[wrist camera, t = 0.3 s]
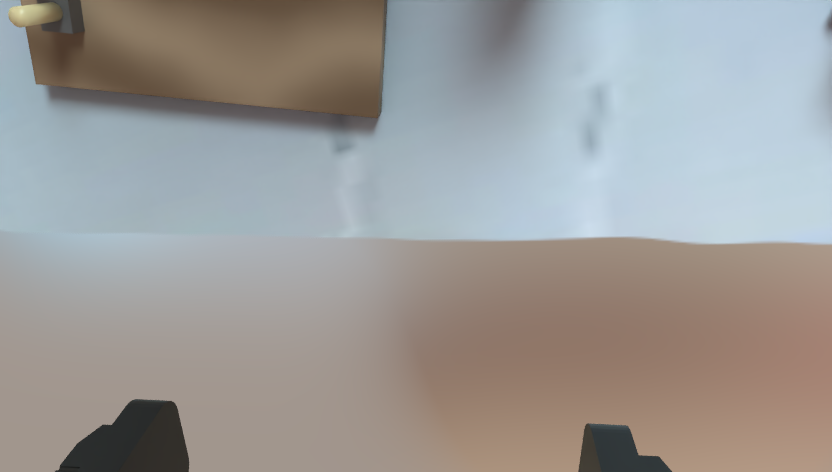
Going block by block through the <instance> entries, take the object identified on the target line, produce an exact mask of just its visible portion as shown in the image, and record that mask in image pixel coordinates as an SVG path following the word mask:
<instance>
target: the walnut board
mask: <svg viewBox="0 0 832 472" xmlns="http://www.w3.org/2000/svg"><path fill="white" fill-rule="evenodd" d="M80 1H81V8H82V14H83V21H84V28H85V31H84V32H79V33H74V34H70V33H60V32H49V31H42V28H41V24H37V25H31V26H26V32H27V38H28V43H29V49H30V54H31V59H32V65H33V70H34V76H35V81H36V84H41V85H51V86H61V87H71V88H81V89H91V90H101V91H111V92H121V93H131V94H141V95H151V96H161V97H171V98H181V99H191V100H202V101H212V102H222V103H232V104H242V105H252V106H262V107H272V108H282V109H292V110H302V111H312V112H322V113H332V114H342V115H352V116H362V117H372V118H378V117H379V115H380V113H381V104H382V86H383V68H384V50H385V32H386V14H387V0H80ZM32 4H37V0H21V5H22V6H24V5H32Z"/></svg>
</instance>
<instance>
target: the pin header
mask: <svg viewBox="0 0 832 472" xmlns="http://www.w3.org/2000/svg"><path fill="white" fill-rule="evenodd" d="M8 15H9V19H10V21H11V22H12V23H13V24H14V25H15V26H17V27H26V26H31V25H37V24H41V28H42V31H49V32H60V33H70V34H74V33H79V32H84V31H85V28H84V21H83V14H82V8H81V1H80V0H37V4H32V5H24V6H16V7H12V8H10V10H9V13H8Z"/></svg>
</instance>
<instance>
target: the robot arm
mask: <svg viewBox="0 0 832 472" xmlns="http://www.w3.org/2000/svg"><path fill="white" fill-rule="evenodd" d="M55 472H189V458H188V453H187V448H186V444H185V440H184V435H183V431H182V426H181V422H180V418H179V413H178V409H177V406H176V405H175V403H174V402H172V401H160V400H140V399H135V400H132V401H131V402H130V403H128V405H127V406H126V407H125V408H124V410H123V411H122V412H121V414H120V415H119V416H118V418H117V419H116V420H115V422H114V423H113V424H112V425H102V426H101V427H100V428H98V429H96V430H95V431H94V432H92V433H91V434H90V435H88V436H87V437H86V438H84V439H83V440H82V441H80V442H79V443H78V444H77V445H76V446H75V447H74V449H73V450H72V451H71V452H70V454H69V455H68V456H67V457H66V459H65V460H64V461H63V462H62V464H61V465H60V469H59V470H58V471H55ZM579 472H672V471H671V470H670V469H669V468H668V466H667V465H666V464H665V463H664V462H663V461H662V460H661V458H660V457H658V456H639V455H638V453H637V449H636V447H635V444H634V440H633V437H632V434H631V431H630V429H629V427H628V426H626V425H606V424H586V426H585V429H584V437H583V444H582V450H581V457H580V464H579Z"/></svg>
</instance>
